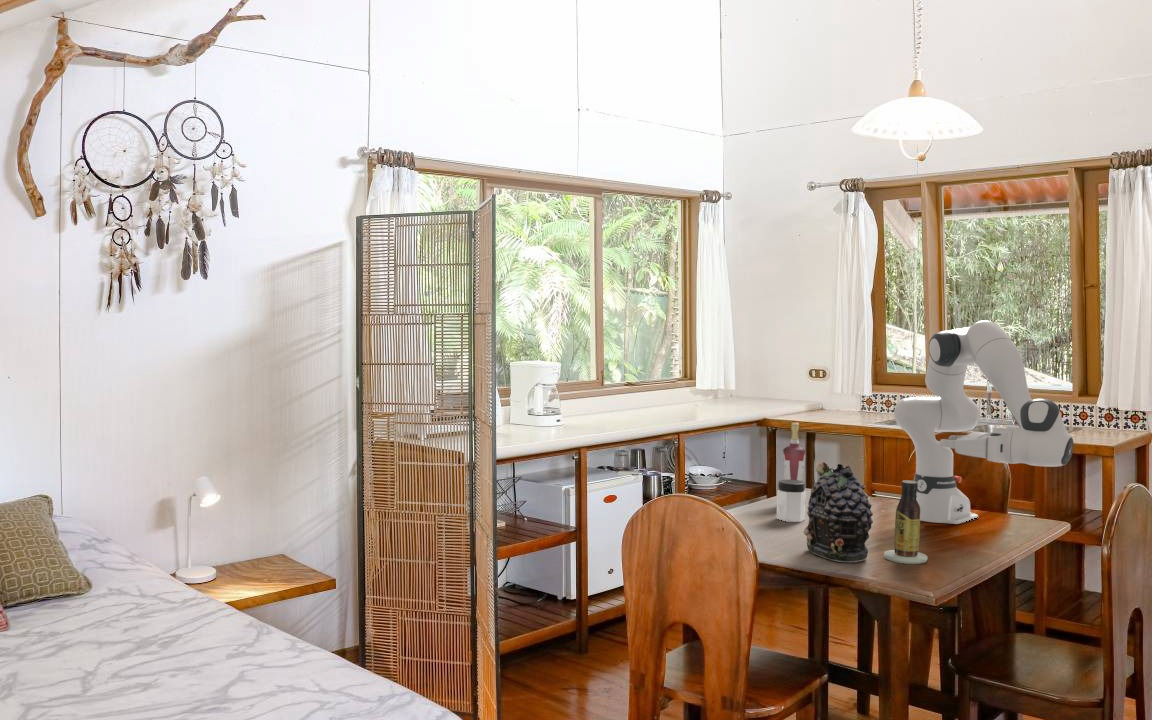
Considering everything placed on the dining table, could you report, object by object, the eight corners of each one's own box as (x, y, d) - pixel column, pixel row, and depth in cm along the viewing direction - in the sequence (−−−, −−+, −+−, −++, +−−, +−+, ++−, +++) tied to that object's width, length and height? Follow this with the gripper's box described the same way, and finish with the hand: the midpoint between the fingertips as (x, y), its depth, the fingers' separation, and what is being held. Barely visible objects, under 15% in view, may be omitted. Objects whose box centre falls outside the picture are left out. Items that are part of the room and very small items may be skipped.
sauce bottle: (890, 551, 259) (893, 478, 258) (913, 551, 259) (916, 479, 258) (898, 557, 253) (901, 483, 252) (922, 558, 253) (925, 483, 252)
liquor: (804, 508, 319) (806, 424, 318) (781, 506, 321) (784, 423, 319) (803, 503, 327) (805, 422, 325) (781, 502, 328) (783, 421, 327)
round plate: (903, 551, 263) (903, 547, 263) (936, 560, 254) (936, 557, 254) (875, 556, 258) (875, 552, 258) (908, 566, 248) (908, 562, 248)
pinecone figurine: (790, 549, 265) (792, 459, 263) (834, 544, 271) (836, 456, 269) (840, 568, 246) (843, 471, 244) (886, 562, 252) (889, 468, 250)
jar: (771, 517, 304) (772, 480, 303) (791, 515, 308) (792, 478, 307) (790, 523, 296) (791, 485, 295) (810, 521, 300) (811, 483, 299)
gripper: (1009, 429, 254) (954, 425, 262) (993, 437, 237) (935, 432, 245) (1008, 452, 255) (954, 448, 262) (992, 462, 238) (934, 456, 245)
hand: (945, 440), depth 254 cm, fingers open, 8 cm apart
